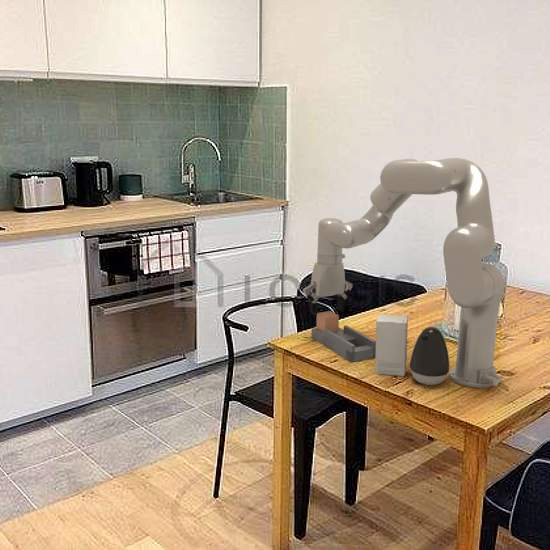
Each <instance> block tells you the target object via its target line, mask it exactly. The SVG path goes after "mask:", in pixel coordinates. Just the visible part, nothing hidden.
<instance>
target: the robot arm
mask: <svg viewBox="0 0 550 550" xmlns="http://www.w3.org/2000/svg"><path fill="white" fill-rule="evenodd" d="M379 177H380V178H379V181H380V183H379V184H378V185H377V186H376V187H375V189H373V190H372V192H370V193H371V194H370V196H369V198H370V202H371V204H372V206H371V207H370V208H369V209H368V211H367V212H366V213H365V214H364V215H363V216H362V217H360V219H355V220H352V221H351V220H350V221H348V222H347V221H346V222H343V221H342V220H341V219H339V218H333V217H330V218H329V217H328V218H327V217H326V218H322V219H320V220H319V222H318V227H317V228H318V229H317V231H318V232H317V254H316V255H317V257H316V259H317V262H315V263H314V265H313V269H312V272H311V279H310V284H309V285H308V286H306V287H304V288H302V292H303V295H305V298H306V299H307V300H308V301H309V311H310V314H311V315H313V316H316V317H317V313H318V308H319V305H318V300H319V299H320V297H321V298H323V297H330V296H337V295H338V296H337V298H336V301H337V303H336V310H339V311H340V312H343V313H344V312H345V307H346V299H348V295H350V293H351V290H352V288H353V286H354V284H353V283H351V282H349V281H347V280H346V276H345V275H346V274H345V266H344V263H343V259H345V258H346V254H344V253H343V249H348V250H349V249H352V248H353V249H354V248H356V247H359V246H362V245H365V244H368V243H370V242H371V241H373V240H374V239H375V238H376V237H378V236H379V235H380V234H381V232H383V231H384V229H386V227H387V226H388V225H389V223H390V221H391V220H392V218H393V216H394V214H395V213H396V211H397V210H399V208H400V207H401V206H403V204H404V203H406V201H407V200H408V199H409V198H410V197H411V196H412V195H426V196H427V195H429V196H430V195H432V196H433V195H435V196H436V195H441V194H446V193H451V192H455V193H456V201H455V213H456V221H457V222H456V223H457V227H455V228H454V229H452V230H451V231H449V233H448V234H446V235H447V236H446V237H445V238H444V242H443V250H442V251H443V253H442V254H443V261H444V270H445V278H446V285H447V286H446V287H447V291H448V295H449V297H450V298H451V300H452V301H453V303H454V304H455V305H456V306H458V307H460V312H459V313H460V314H459V321H458V322H459V323H458V324H459V325H458V332H457V333H458V334H457V335H458V336H457V347H456V348H457V349H456V360H455V367H452V368H451V369H449V372H448V377H449V378H450V380H451V381H453V382H454V383H456V384H459V385H461V386H465V387H469V388H475V389H476V388H478V389H479V388H480V389H485V388H490V387H495V386H498V385H499V383H500V382H501V381H502V379H503V377H502V376H501V375H499V374H496V373H497V367H496V366H494V360H495V349H496V340H497V339H496V338H497V330H498V320H499V313H500V308H501V307H500V306H501V302H502V298H503V292H504V286H505V281H504V275H503V274H502V272H501V270H500V269H499V268H498V267H497V266H495V265H494V264H491V263H486V262H483V259H485V258H486V257H489V256H490V255H491V254H492V253H493V251H494V249H495V247H496V239H495V232H494V224H493V215H492V209H491V201H490V188H489V183H488V182H489V181H488V180H487V176H486V174H485V172H484V171H483V170H482V168H481V167H480V166H479V165H478V164H476V163H475V162H473V161H471V160H468V159H465V158H459V157H451V158H450V157H449V158H443V159H442V158H441V159H436V160H435V159H434V160H418V159H414V158H403V159H396V160H392V161H389V162H388V163H387V164H386V165H384V167H383V168H382V169H381V172H380V176H379Z"/></svg>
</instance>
